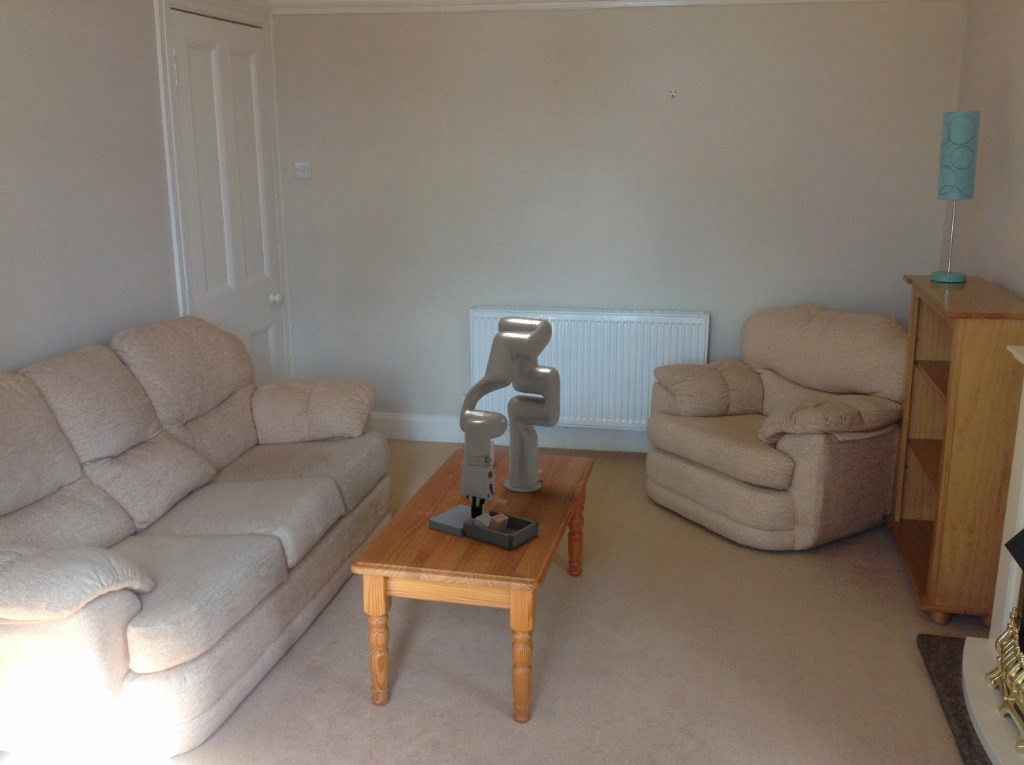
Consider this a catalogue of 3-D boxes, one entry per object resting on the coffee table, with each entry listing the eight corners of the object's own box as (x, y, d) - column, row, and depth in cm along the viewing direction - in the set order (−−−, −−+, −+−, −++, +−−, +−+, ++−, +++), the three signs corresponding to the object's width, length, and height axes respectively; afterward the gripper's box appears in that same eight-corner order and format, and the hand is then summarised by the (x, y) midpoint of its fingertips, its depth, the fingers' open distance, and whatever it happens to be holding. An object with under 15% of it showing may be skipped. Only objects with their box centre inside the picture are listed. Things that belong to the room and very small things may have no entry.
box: (491, 521, 294) (491, 509, 293) (537, 535, 285) (538, 522, 284) (463, 535, 283) (463, 523, 282) (510, 550, 273) (511, 536, 273)
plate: (461, 512, 302) (461, 504, 301) (492, 520, 295) (492, 513, 294) (428, 527, 289) (428, 519, 288) (460, 536, 282) (460, 528, 282)
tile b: (500, 512, 285) (508, 517, 284) (496, 526, 287) (504, 531, 286) (491, 517, 281) (499, 522, 280) (486, 531, 283) (494, 536, 282)
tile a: (483, 521, 290) (485, 512, 288) (495, 529, 287) (498, 520, 286) (473, 526, 286) (475, 517, 284) (486, 534, 283) (488, 525, 282)
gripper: (505, 460, 282) (504, 519, 287) (464, 451, 291) (464, 508, 295) (490, 467, 276) (489, 527, 281) (449, 457, 285) (449, 515, 289)
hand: (476, 517), depth 288 cm, fingers closed
